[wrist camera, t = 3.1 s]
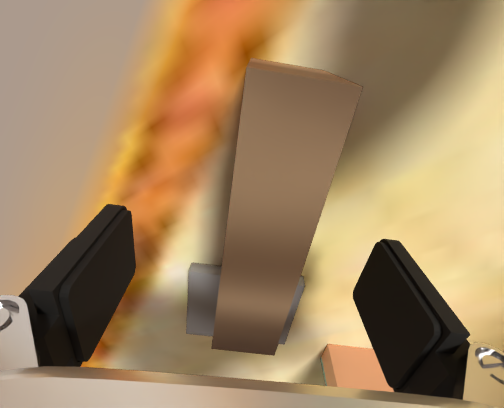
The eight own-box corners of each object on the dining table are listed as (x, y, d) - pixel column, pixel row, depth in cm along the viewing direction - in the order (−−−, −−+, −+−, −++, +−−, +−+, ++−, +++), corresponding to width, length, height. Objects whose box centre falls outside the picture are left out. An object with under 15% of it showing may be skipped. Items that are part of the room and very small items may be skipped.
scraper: (202, 49, 11) (165, 53, 7) (370, 78, 11) (438, 99, 7) (188, 323, 20) (169, 401, 16) (283, 334, 20) (290, 413, 16)
